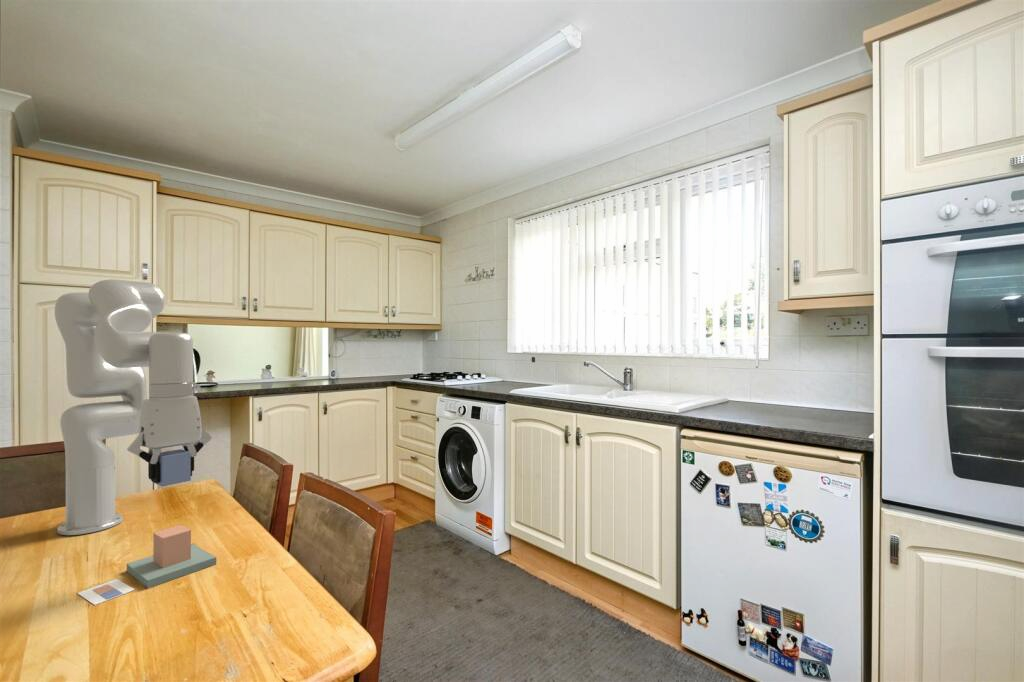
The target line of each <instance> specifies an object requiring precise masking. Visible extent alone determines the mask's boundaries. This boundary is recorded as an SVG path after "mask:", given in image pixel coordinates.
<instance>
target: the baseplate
mask: <svg viewBox="0 0 1024 682" xmlns="http://www.w3.org/2000/svg"><path fill="white" fill-rule="evenodd" d="M215 565H217V556H215V555H213V554H212V553H210V552H209V551H207V550H205V549H203V548H202V547H200V546H198V545H197V544H195V543H194V542H193V543H192V542H191V559H189V560H186V561H183V562H180V563H177V564H174V565H171V566H168V567H165V568H162V567H161V566H159V565H158V564H156V563H155V562H153V555H150V556H147V557H143V558H141V559H137V560H135V561H130V562H128V563H126V572H127V573H128V574H130V575H131V576H132V577H133V578H135V579H136V580H137V581H138V582H140V583H141V584H142V585H143V586H145V587H146V588H147V589H150V588H153V587H155V586H159V585H161V584H164V583H168V582H171V581H173V580H175V579H179V578H182V577H184V576H186V575H187V576H188V575H190V574H192V573H196V572H198V571H201V570H203V569H207V568H209V567H212V566H215Z"/></svg>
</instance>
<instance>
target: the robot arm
mask: <svg viewBox="0 0 1024 682" xmlns="http://www.w3.org/2000/svg"><path fill="white" fill-rule="evenodd" d="M165 301H166V299H165V295H164V292H163V291H162V289H161V288H160V287H159V286H158V285H156V284H155V283H152V282H145V281H134V280H125V279H110V278H109V279H103V280H99V281H97V282H95V283H94V284H92V285H91V286H90V287H89V289H88V292H69V293H65V294H62V295H60V296H59V297H58V298H57V299H56V302H55V304H54V318H55V319H54V320H55V323H56V326H57V327H58V330H59V332H60V335H61V337H62V339H63V342H64V345H65V363H66V365H65V367H66V384H67V389H68V393H69V394H70V395H71V396H72V397H75V398H78V399H95V398H104V397H105V398H107V397H121V398H122V400H115V401H102V402H91V403H82V404H76V405H74V406H73V405H72V406H71V407H68V408H67V409H65V411H63V413H62V414H61V416H60V422H59V425H60V429H61V434H62V439H63V445H64V452H65V454H64V455H65V522H63V523H62V524H60V525H59V526H57V529H56V530H57V531H56V532H57V534H58V535H61V536H77V535H78V536H79V535H87V534H92V533H95V532H100V531H103V530H106V529H110V528H113V527H115V526H117V525H119V524H120V523H122V522H123V519H124V517H123V514H122V513H118V512H116V458H115V457H116V456H115V453H114V451H113V450H112V449H111V447H109V446H108V445H106V443H104V442H103V441H104V440H107V439H111V438H119V437H125V436H133V435H137V434H138V436H137V437H136V438H135V439H134V440H133V441H132V443H131V444H129V446H128V447H127V451H128V452H130V453H131V454H133V455H135V456H138V457H139V458H141V459H142V460H144V461H145V462H146V463H148V465H147V466H148V473H147V474H148V479H149V480H150V481H151V482H152V483H153V482H154V483H153V484H156V483H160V463H158V458H159V455H160V452H162V449H165V448H171V447H178V446H182V450H186V451H189V452H191V477H192V476H193V472H194V471H195V457H197V455H198V452H200V451H201V449H203V447H204V446H205V445H207V444H208V443H209V441H211V440H212V436H211V434H209V433H208V432H207V431H206V430H205V429H204V428H203V427H202V418H201V411H200V405H199V401H198V397H197V396H195V395H194V394H195V392H197V391H201V384H198V383H195V382H194V339H193V337H192V336H191V335H190V334H189V333H186V332H162V331H161V332H158V331H155V332H154V331H145V330H147V328H148V327H150V324H152V323H151V322H152V320H153V319H155V318H157V317H158V316H159V315H160V314H161V313H162V312H163V310H164V308H165V304H166V302H165ZM144 368H148V386H147V375H146V372H145V369H144ZM141 447H144V448H147V449H148V451H145V450H143V449H141Z"/></svg>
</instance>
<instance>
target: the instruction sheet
mask: <svg viewBox="0 0 1024 682" xmlns="http://www.w3.org/2000/svg"><path fill="white" fill-rule="evenodd" d="M134 591H135V588H133V587H131V586H129V585H128V584H127V583H124V582H123V581H121V580H119V579H117V578H115V579H113V580H110V581H107V582H104V583H101V584H98V585H95V586H93V587H90V588H87V589H85V590H82V591H78V592H77V595H79V596H80V597H82V598H83V599H85V600H86V601H88V602H90V603H91V604H92V605H94V606H97V605H100V604H101V603H105V602H107V601H109V600H112V599H115V598H118V597H121V596H123V595H125V594H128V593H131V592H134Z"/></svg>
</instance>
